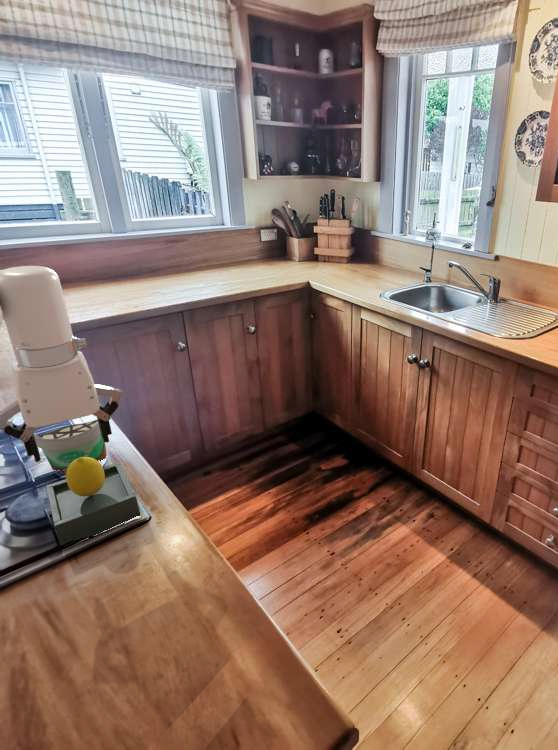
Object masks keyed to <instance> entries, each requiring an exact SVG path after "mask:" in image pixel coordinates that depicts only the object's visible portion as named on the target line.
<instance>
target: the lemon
mask: <svg viewBox="0 0 558 750" xmlns="http://www.w3.org/2000/svg"><path fill="white" fill-rule="evenodd" d="M66 480H67V484H68V487H69V488H70V490H71V491H72V492H73V493H74V494H76V495H79V496H92V495H93V494H95V493H97V492H98V491H99V490H100V489H101V488H102V487H103V484H104V481H105V474H104V470H103V468H102V466H101V465H100V463H99V462H98V461H97V460H95V459H94V458H90V457H80V458H78V459H76V460H74V461H73V462H72V463H71V464H70V465H69V467H68V468H67V472H66Z"/></svg>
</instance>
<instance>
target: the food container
mask: <svg viewBox="0 0 558 750" xmlns="http://www.w3.org/2000/svg"><path fill="white" fill-rule="evenodd" d="M34 437H35V440H36V443H37V446H38V449H41V450H42V452H43V454H44V456H45V458H46V460H47V461H48V463H49V465H50V468H51V470H52V471H53V470H60V471H62V472H63V473H65V474H66V472H67V468H68V467H69V465H70V464H71V463H72V462H73V461H74V460H76V459H78V458H80V457H90V458H94V459H95V460H97V461H98V460H100V461H101V460H103V459H105V458H106V456H107V457H108V454H107V446H106V442H104V440H103V438H102V436H101V432H100V428H99V424H98V419H94V420H92V421H91V420H90V421H88V422H82V423H76V424H69V425H66V426H64V427H61V428H58V429H55V430H53V431H49V432H46V433H42V434H38V435H37V433H36V431H35V432H34Z"/></svg>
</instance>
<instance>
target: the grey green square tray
mask: <svg viewBox="0 0 558 750" xmlns="http://www.w3.org/2000/svg"><path fill="white" fill-rule="evenodd" d="M102 468H103V470H104V474H105V481H104V484H103V487H102V488H101V489H100V490H99V491H98V492H97V493H95V494H93V495H92V496H79V495H76V494H74V493H73V492H72V491H71V490H70V488H69V487H68V484H67V480H66V479H60V480H59V481H55V482H53V483H49V484H46V485H45V489H46V494H47V499H48V504H49V508H50V512H51V518H52V522H53V527H54V529H55V532H56V534H57V538H58V540H59V542H60V545H61V544H65V543H67V542H69V541H72V540H76V539H81V538H85V537H89V536H92V535H96V534H99V533H101V532H103V531H104V530H108V529H110V528H112V527H114V526H116V525H118V524H121V523H123V522H125V521H128V520H130V519H132V518H134V517H136V516H140V515H141V514H142V513H141V511H140V506H139V502H138V499H137V495H136V493H135V491H134V488H133V486H132V484H131V482H130V480H129V478H128V475H127V474H126V471H125V469H124V467H123V464H122V462H121V461H117V462H114V463H111V464H109V465H104V466H103V467H102ZM141 516H142V515H141ZM99 535H100V534H99Z"/></svg>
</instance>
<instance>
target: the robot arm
mask: <svg viewBox="0 0 558 750" xmlns="http://www.w3.org/2000/svg"><path fill="white" fill-rule="evenodd" d="M68 313H69V312H68V308H67V306H66V301H65V296H64V292H63V288H62V284H61V281H60V277H59V275H58V274H57V272H55V270H53V269H51V268H49V267H46V266H41V265H21V266H13V267H8V268H4V269H0V327H1V326H2V323H3V322H4V324H5V327H6V330H7V333H8V336H9V339H10V343H11V347H12V350H13V354H14V356H15V361H13V362H12V364H11V373H12V381H13V386H14V391H15V395H16V400H15V401H13V402H12V403H10V404H9V405H8V406H6V407H4V408H3V409H2V410H0V431H2V432H4V434H5V435H7V436H10V437H12V438H15V439H19V440H20V442H23V445H24V448H25V452H26V455H27V457H32V456H33V459H34V461H35V463H39V462H40V461H41V460H42V458H41V454H40V449H39V447H38V446H37V443H36V440H35V437H34V432H35V433H36V430H37V429H38V428H43V427H47V426H51V425H57V424H60V423H64V422H68V421H72V420H76V419H80V418H85V417H88V416H91V415H93V416H94V417H96V420H98V424H99V428H100V432H101V436H102V438H103V440H104V442H105V444H106V443H110V438H109V436H110V435H112V434H113V432H112V427H111V423H110V420H111V418H112V415H113V414H114V413H115V412H116V410H117V409H118V408H119V405H120V404H119V403H121V399H122V397H123V395H124V394H123V391H122V390H121V389H120V388H117V387H113V386H108V385H102V384H96V383H95V381H94V378H93V375H92V373H91V369H90V367H89V364H88V362H87V359H86V358H85V356H84V354H83V352H82V351H81V350H80V349H82V348H87V347H88V344H87V341H86V338H85V337H84V338H80V337H78V338H77V337H76V336H74V333H73V329H72V326H71V320H70V317H69V314H68ZM99 396H106V397H110V398H109V400H108V401H107V403H106V404H105V405H104V406H103V405H101V404H100V399H99ZM18 413H20V414H21V417H22V420H23V422H22V424H21V426H20V425H18V424H15V423H12V422H10V421H9V419H11V418H13V417H15V416H16V415H17V414H18Z"/></svg>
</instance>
